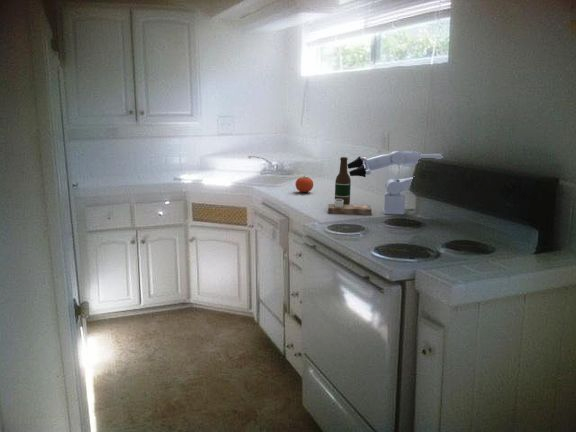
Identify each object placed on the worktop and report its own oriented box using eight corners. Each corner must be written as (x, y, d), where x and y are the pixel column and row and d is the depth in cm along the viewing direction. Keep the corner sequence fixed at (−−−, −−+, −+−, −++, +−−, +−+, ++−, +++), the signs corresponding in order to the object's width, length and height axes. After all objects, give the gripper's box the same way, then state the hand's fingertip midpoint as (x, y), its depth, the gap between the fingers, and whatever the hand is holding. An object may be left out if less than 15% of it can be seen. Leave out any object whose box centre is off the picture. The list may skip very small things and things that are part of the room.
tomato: (313, 194, 294) (313, 176, 291) (295, 194, 294) (295, 176, 292) (312, 191, 304) (313, 174, 301) (295, 190, 304) (295, 173, 302)
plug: (342, 210, 250) (343, 198, 249) (343, 212, 246) (343, 200, 245) (334, 210, 251) (334, 198, 249) (334, 212, 247) (335, 199, 245)
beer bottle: (341, 202, 271) (342, 156, 266) (352, 204, 266) (355, 157, 261) (331, 204, 266) (333, 157, 261) (343, 206, 261) (345, 158, 255)
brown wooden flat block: (369, 210, 252) (369, 204, 252) (371, 214, 242) (371, 208, 242) (328, 209, 254) (328, 203, 253) (328, 213, 244) (328, 207, 243)
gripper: (373, 148, 247) (345, 156, 249) (378, 162, 235) (348, 169, 237) (375, 161, 251) (348, 168, 252) (381, 175, 238) (352, 182, 240)
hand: (348, 170), depth 245 cm, fingers open, 7 cm apart
